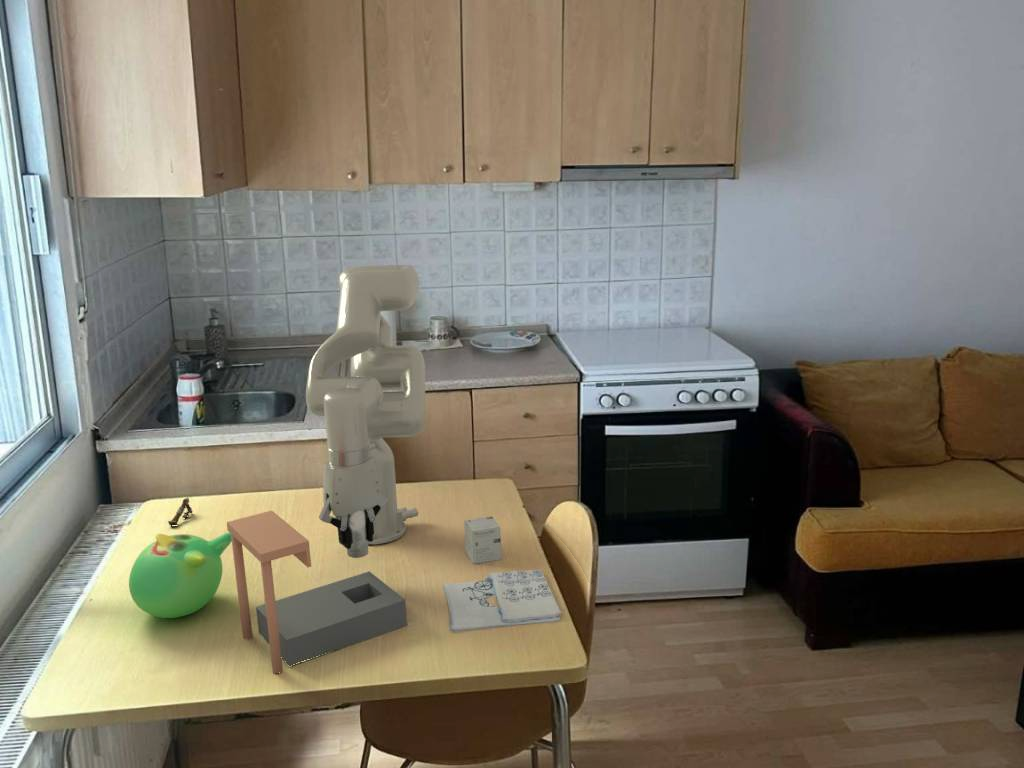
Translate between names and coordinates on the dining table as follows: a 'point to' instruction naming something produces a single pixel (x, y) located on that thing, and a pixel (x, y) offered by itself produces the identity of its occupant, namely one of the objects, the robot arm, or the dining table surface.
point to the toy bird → (177, 574)
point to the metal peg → (357, 534)
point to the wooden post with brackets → (181, 512)
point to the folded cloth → (501, 601)
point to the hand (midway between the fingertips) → (357, 541)
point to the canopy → (265, 566)
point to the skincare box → (482, 539)
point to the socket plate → (334, 616)
